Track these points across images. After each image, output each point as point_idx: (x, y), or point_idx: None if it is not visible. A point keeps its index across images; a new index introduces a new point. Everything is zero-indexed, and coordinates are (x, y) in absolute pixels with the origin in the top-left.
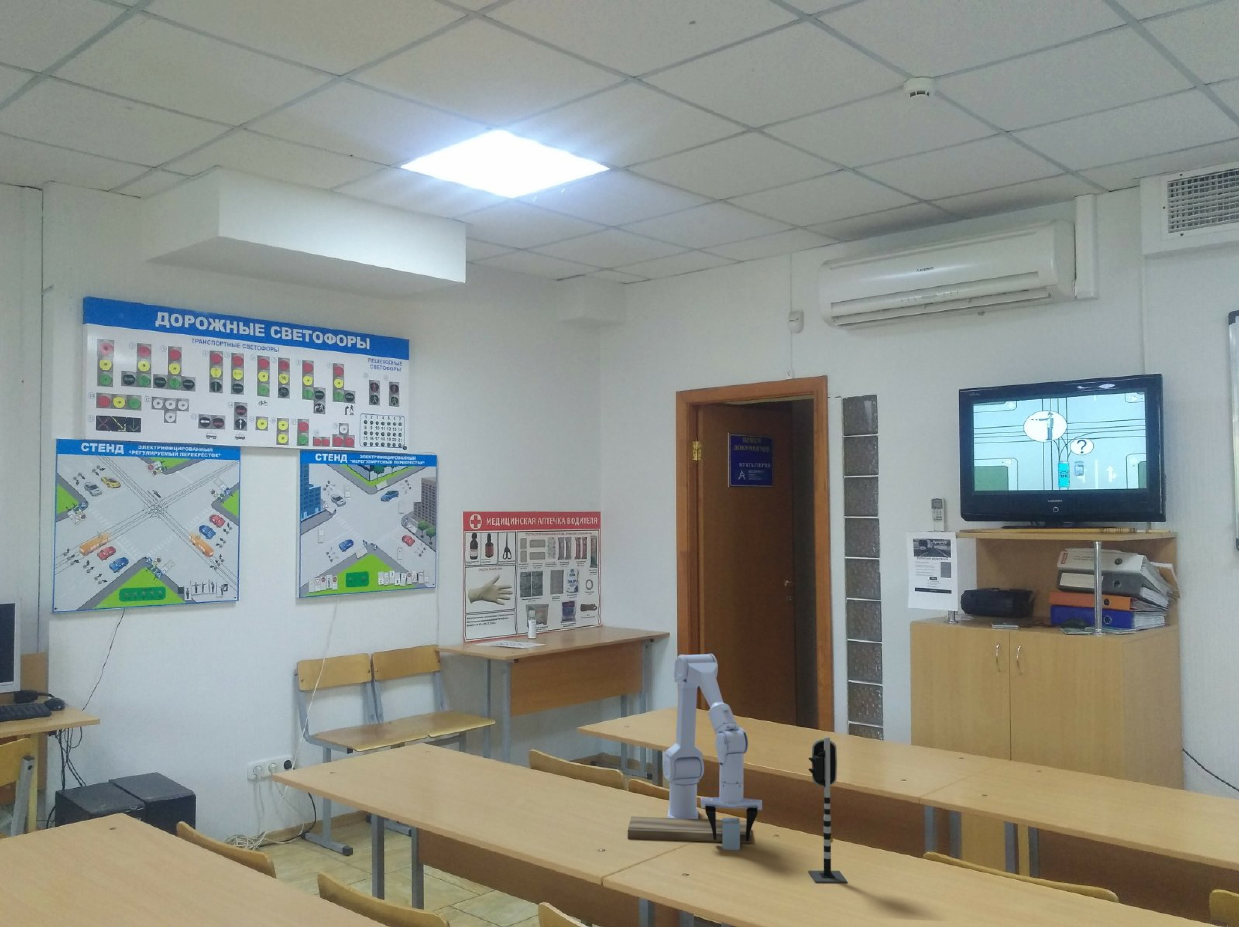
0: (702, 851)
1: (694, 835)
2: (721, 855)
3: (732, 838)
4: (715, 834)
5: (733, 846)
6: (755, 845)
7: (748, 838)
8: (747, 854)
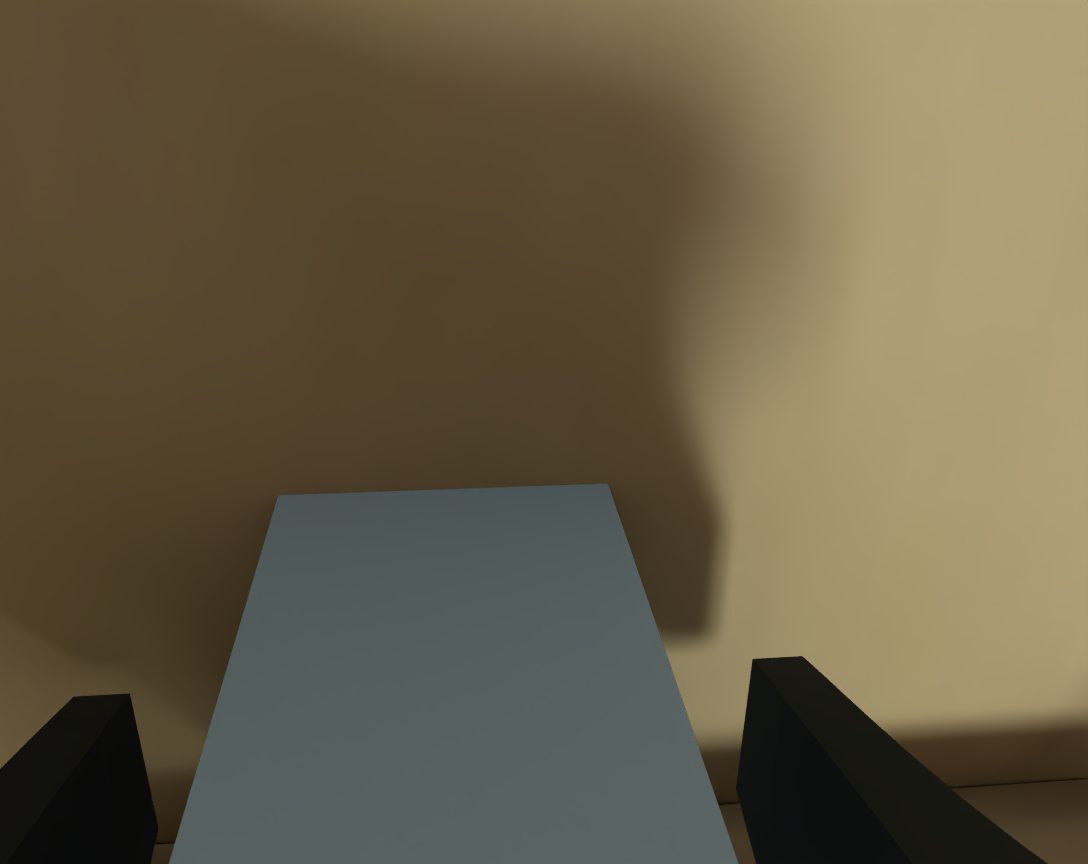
0: (1013, 296)
1: (1076, 851)
2: (663, 76)
3: (421, 615)
4: (816, 713)
5: (401, 518)
6: None
7: (48, 723)
8: (83, 229)
